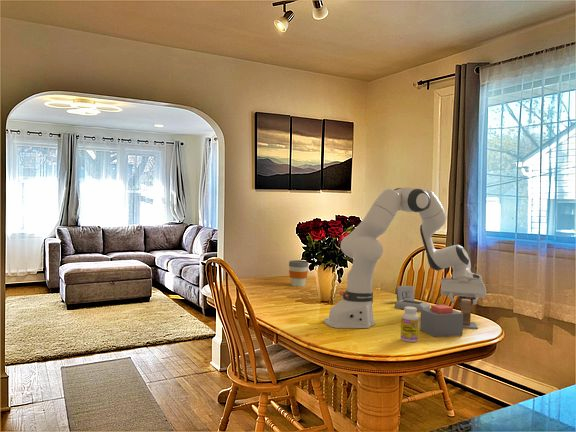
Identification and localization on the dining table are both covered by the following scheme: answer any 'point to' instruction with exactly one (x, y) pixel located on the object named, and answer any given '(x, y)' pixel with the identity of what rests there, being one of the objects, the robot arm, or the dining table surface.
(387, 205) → the robot arm
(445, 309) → the button
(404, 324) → the supplement bottle
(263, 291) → the dining table surface
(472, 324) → the pad
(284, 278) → the dining table surface
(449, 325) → the gray socket block
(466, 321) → the brown wooden block
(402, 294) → the electrical switch
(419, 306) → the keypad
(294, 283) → the reusable coffee cup
